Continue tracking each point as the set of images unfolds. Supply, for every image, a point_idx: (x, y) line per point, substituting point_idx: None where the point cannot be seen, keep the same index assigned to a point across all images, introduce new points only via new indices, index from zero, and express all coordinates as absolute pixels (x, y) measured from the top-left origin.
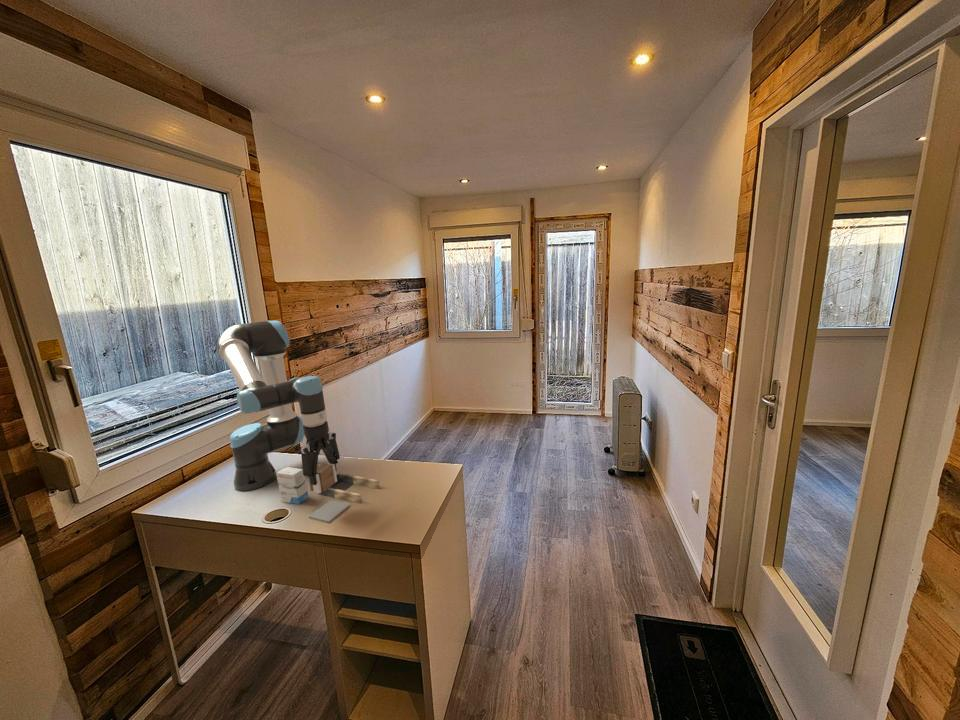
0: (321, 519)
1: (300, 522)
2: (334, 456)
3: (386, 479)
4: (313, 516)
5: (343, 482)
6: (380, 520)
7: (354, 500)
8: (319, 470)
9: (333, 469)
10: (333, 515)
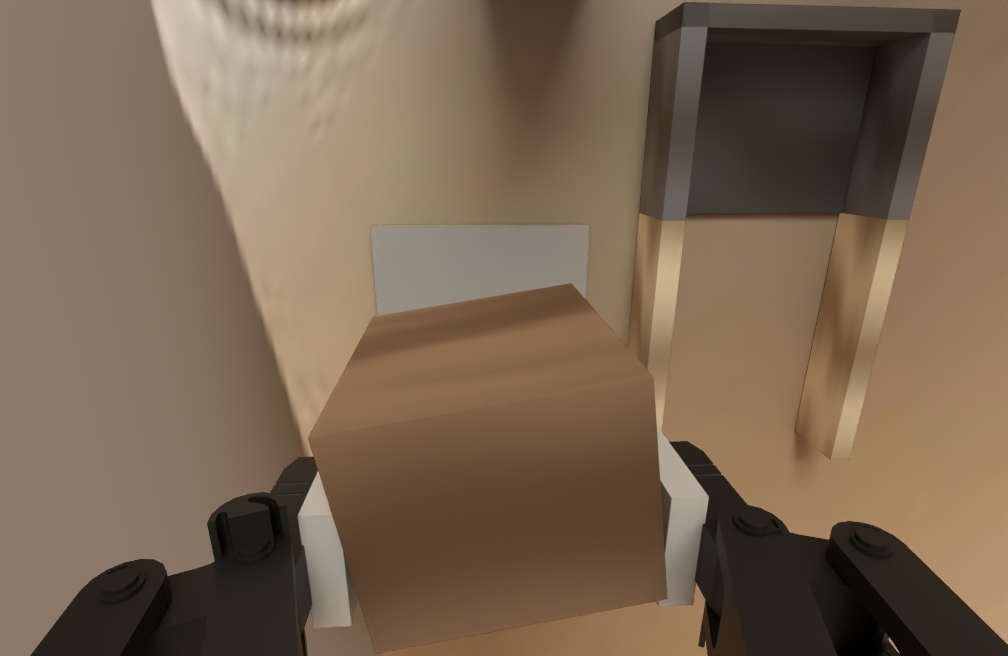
0: None
1: (308, 207)
2: (855, 610)
3: (913, 407)
4: (384, 264)
5: (848, 116)
6: (510, 629)
7: None
8: (432, 579)
9: None
10: None
